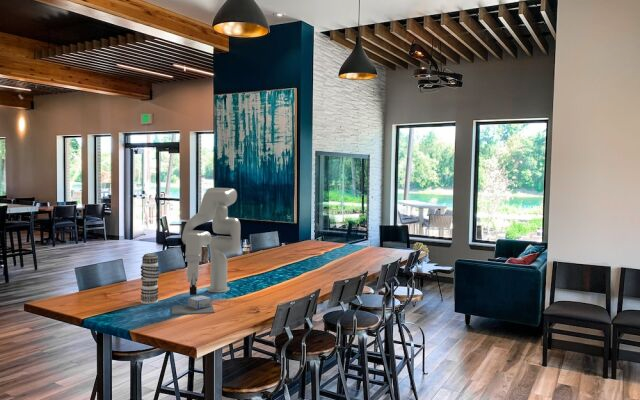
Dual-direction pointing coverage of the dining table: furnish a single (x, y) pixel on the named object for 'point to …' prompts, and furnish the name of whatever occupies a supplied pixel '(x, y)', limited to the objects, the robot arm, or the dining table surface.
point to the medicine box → (199, 302)
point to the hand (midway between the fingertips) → (193, 294)
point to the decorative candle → (149, 278)
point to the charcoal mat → (190, 310)
